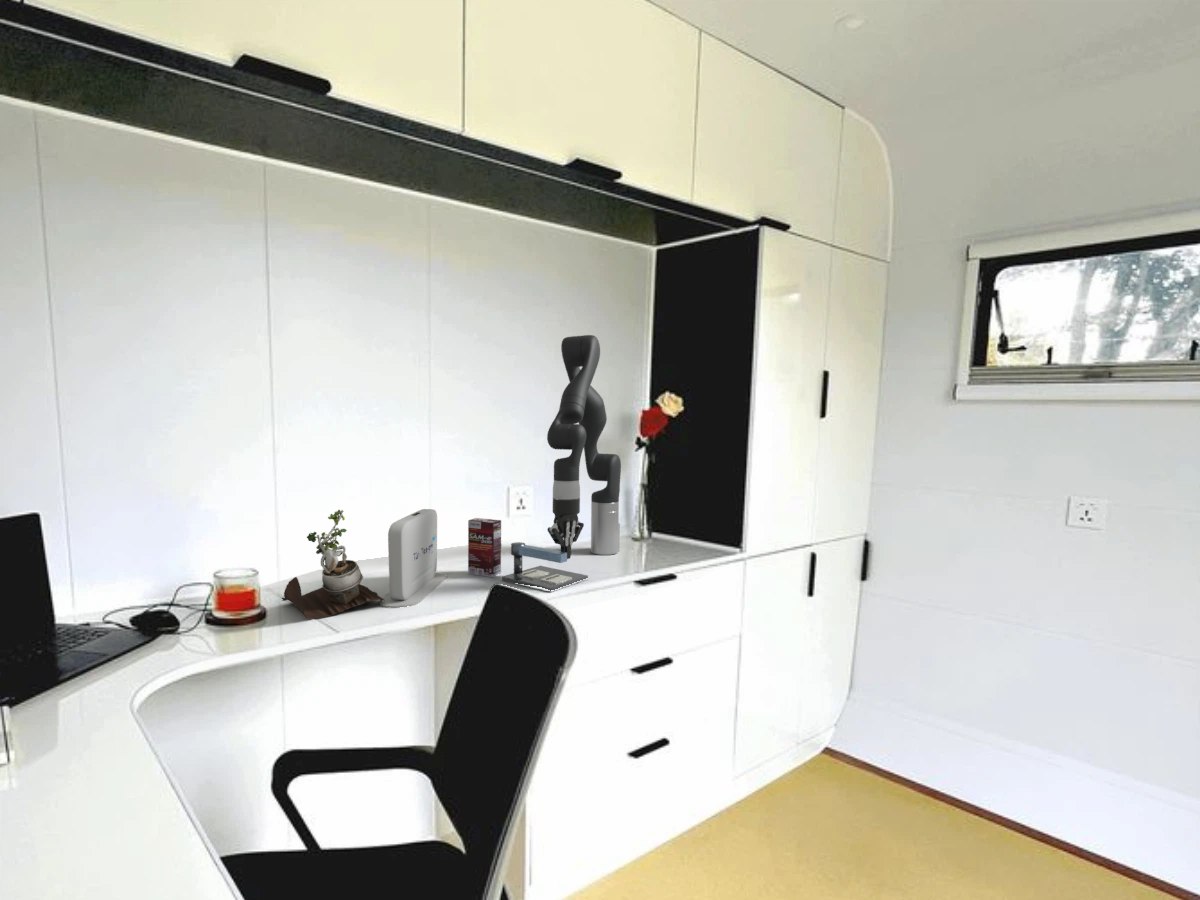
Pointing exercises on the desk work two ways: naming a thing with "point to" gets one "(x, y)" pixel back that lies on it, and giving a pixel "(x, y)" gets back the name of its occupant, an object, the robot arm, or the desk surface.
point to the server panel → (541, 576)
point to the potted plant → (331, 580)
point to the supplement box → (484, 547)
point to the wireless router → (412, 559)
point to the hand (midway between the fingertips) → (565, 558)
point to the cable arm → (537, 552)
